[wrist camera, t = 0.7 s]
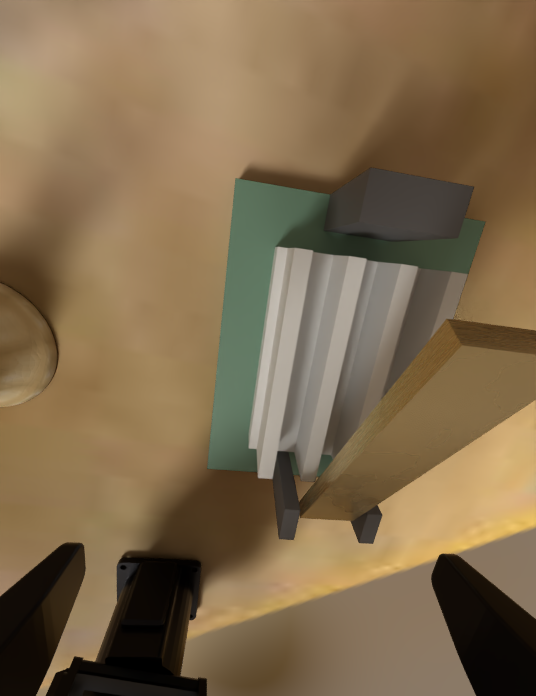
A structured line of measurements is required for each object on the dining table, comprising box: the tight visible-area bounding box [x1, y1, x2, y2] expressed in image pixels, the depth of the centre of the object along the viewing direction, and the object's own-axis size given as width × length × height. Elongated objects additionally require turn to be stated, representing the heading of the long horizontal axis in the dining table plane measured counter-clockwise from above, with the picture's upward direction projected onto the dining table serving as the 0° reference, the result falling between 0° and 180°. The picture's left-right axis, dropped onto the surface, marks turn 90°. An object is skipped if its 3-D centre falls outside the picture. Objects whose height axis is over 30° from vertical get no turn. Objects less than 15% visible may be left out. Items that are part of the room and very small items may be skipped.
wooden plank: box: [299, 319, 536, 521], centre depth 12 cm, size 14×3×1 cm
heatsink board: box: [207, 168, 485, 544], centre depth 17 cm, size 18×14×6 cm
